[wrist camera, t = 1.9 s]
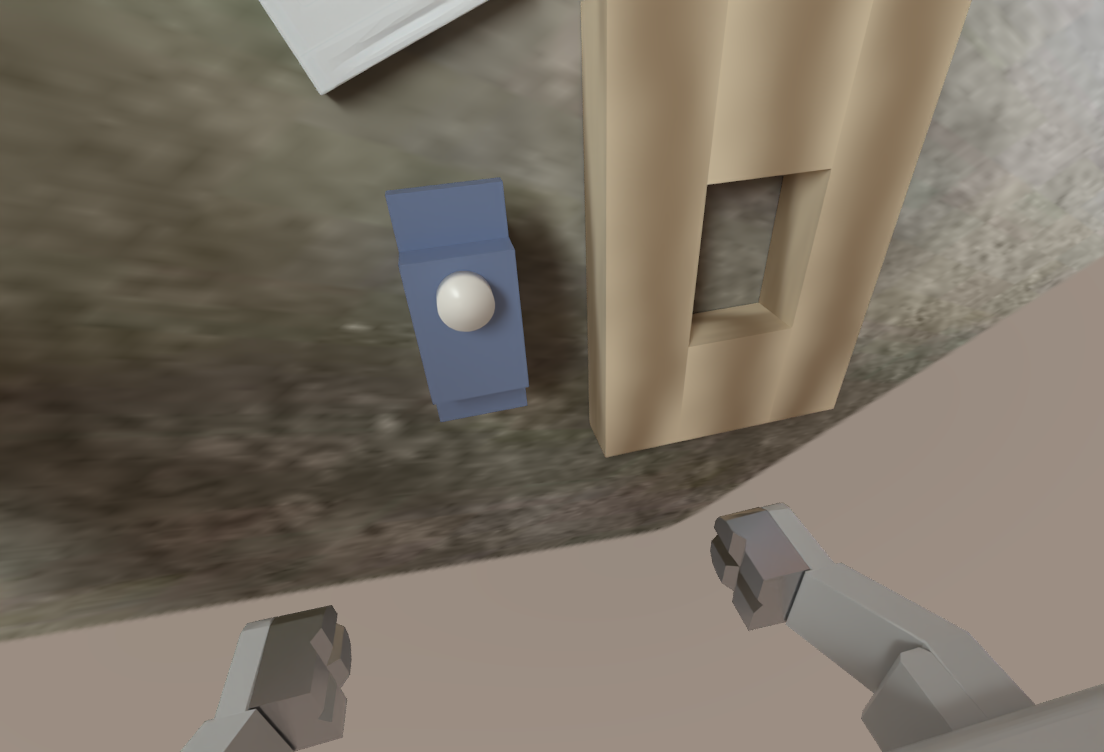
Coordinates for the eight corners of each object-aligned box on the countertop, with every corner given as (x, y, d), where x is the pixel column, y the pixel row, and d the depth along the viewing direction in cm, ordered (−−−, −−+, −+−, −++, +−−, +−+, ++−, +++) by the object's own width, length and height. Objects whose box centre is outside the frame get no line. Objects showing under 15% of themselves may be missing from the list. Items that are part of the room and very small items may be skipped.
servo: (436, 376, 26) (443, 453, 21) (389, 171, 20) (382, 212, 15) (513, 363, 26) (536, 434, 22) (488, 159, 20) (512, 196, 16)
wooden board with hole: (589, 423, 30) (605, 457, 27) (580, 1, 18) (607, -5, 16) (801, 380, 32) (833, 408, 29) (913, -21, 20) (981, -28, 18)
